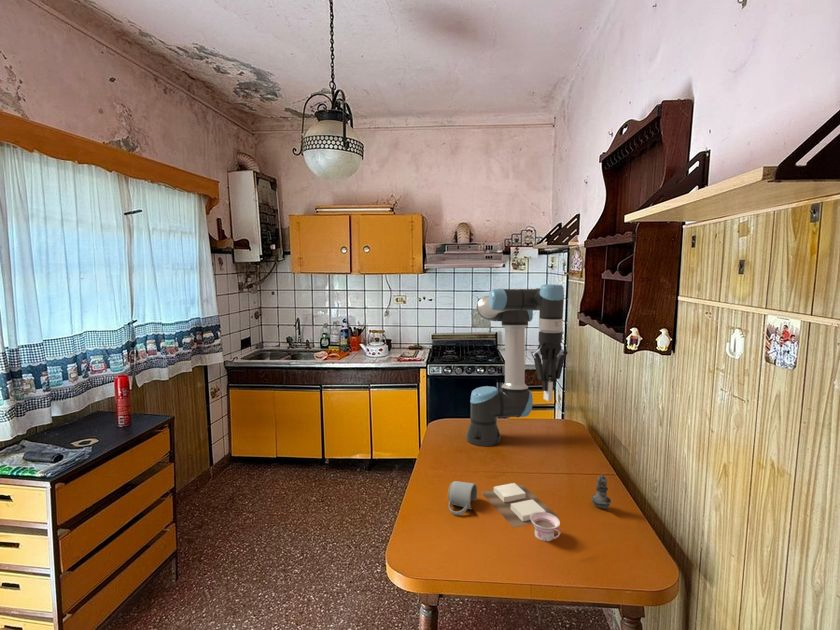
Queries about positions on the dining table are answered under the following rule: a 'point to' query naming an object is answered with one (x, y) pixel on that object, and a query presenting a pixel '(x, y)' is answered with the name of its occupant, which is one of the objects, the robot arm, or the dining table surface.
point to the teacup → (545, 525)
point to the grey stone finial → (601, 494)
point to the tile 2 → (526, 509)
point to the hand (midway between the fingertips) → (547, 399)
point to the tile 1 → (509, 492)
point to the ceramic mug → (461, 495)
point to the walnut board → (506, 506)
